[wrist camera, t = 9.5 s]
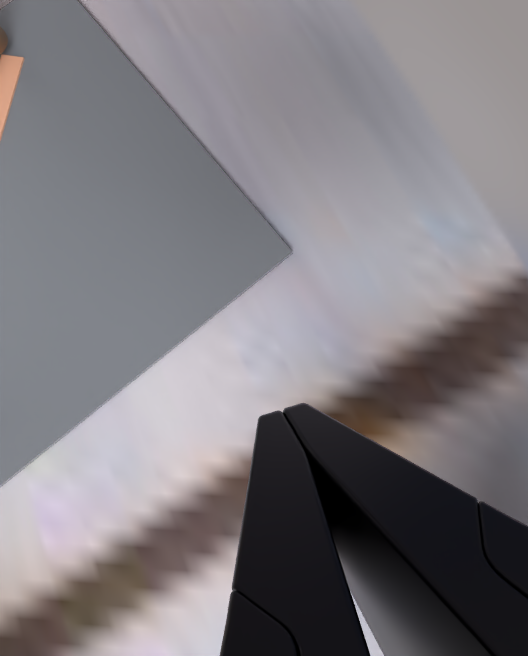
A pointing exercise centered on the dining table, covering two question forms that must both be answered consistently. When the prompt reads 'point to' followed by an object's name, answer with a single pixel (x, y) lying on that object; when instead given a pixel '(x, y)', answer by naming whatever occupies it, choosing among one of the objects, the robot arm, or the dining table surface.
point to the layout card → (101, 227)
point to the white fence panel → (3, 40)
